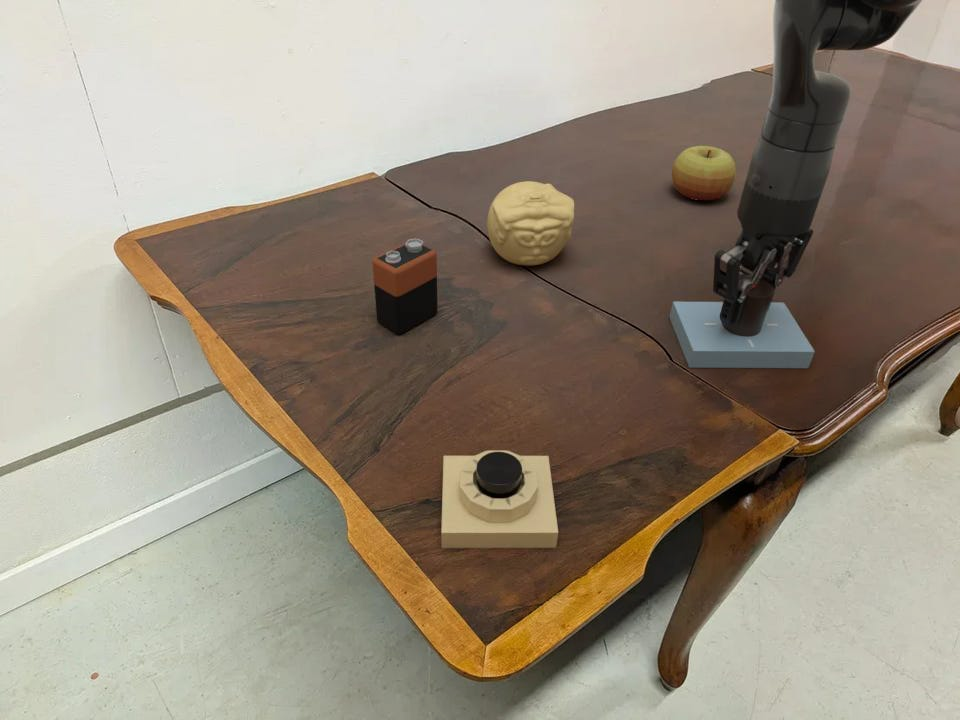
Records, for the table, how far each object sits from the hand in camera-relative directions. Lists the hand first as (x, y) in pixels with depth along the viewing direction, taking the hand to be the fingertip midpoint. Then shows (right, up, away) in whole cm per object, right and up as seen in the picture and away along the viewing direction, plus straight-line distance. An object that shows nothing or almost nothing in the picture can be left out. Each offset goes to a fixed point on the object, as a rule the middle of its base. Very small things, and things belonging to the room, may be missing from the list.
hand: (743, 315), depth 84 cm
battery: (-40, 0, +5) cm, 40 cm away
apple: (+5, +22, +34) cm, 41 cm away
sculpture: (-24, +10, +18) cm, 32 cm away
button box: (-30, -19, -18) cm, 40 cm away
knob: (0, -1, +1) cm, 1 cm away
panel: (0, -3, +2) cm, 4 cm away
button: (-29, -16, -21) cm, 39 cm away
